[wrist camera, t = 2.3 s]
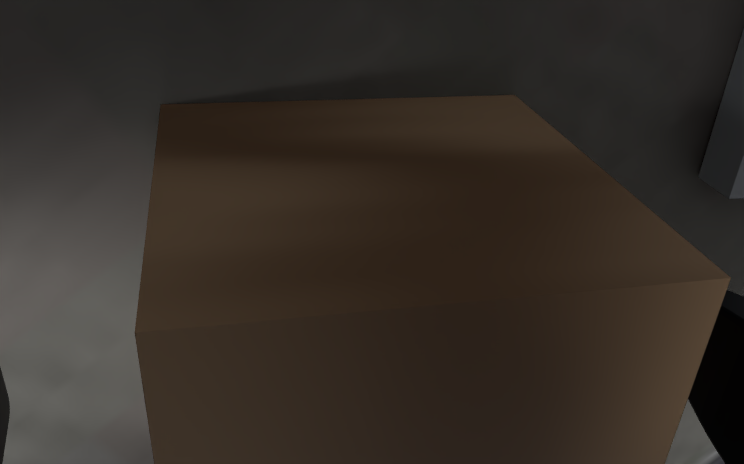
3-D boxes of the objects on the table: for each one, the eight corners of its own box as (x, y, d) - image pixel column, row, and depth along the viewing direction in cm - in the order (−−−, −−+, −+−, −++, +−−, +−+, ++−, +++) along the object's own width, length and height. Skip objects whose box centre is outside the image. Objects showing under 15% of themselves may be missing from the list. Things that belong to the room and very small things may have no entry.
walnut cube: (190, 387, 12) (190, 703, 8) (161, 101, 9) (136, 333, 5) (472, 357, 13) (609, 618, 9) (512, 93, 10) (730, 277, 6)
